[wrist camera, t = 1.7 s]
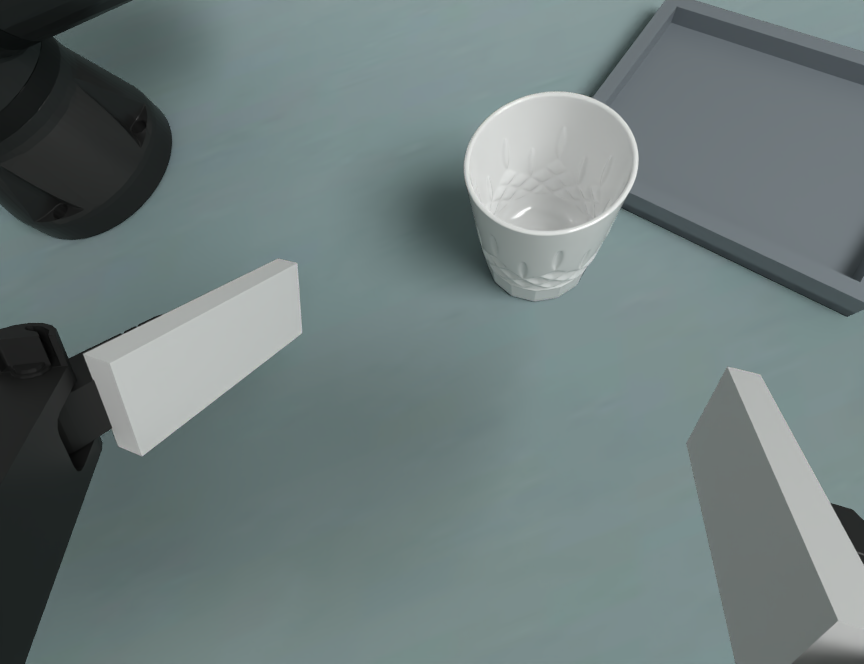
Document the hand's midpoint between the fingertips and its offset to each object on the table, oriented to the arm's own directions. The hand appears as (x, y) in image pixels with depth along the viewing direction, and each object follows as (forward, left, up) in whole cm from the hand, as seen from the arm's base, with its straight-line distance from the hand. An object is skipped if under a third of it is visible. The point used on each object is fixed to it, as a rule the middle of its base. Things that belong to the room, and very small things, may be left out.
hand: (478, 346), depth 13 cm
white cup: (-3, +10, -15) cm, 18 cm away
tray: (+4, +24, -14) cm, 28 cm away
